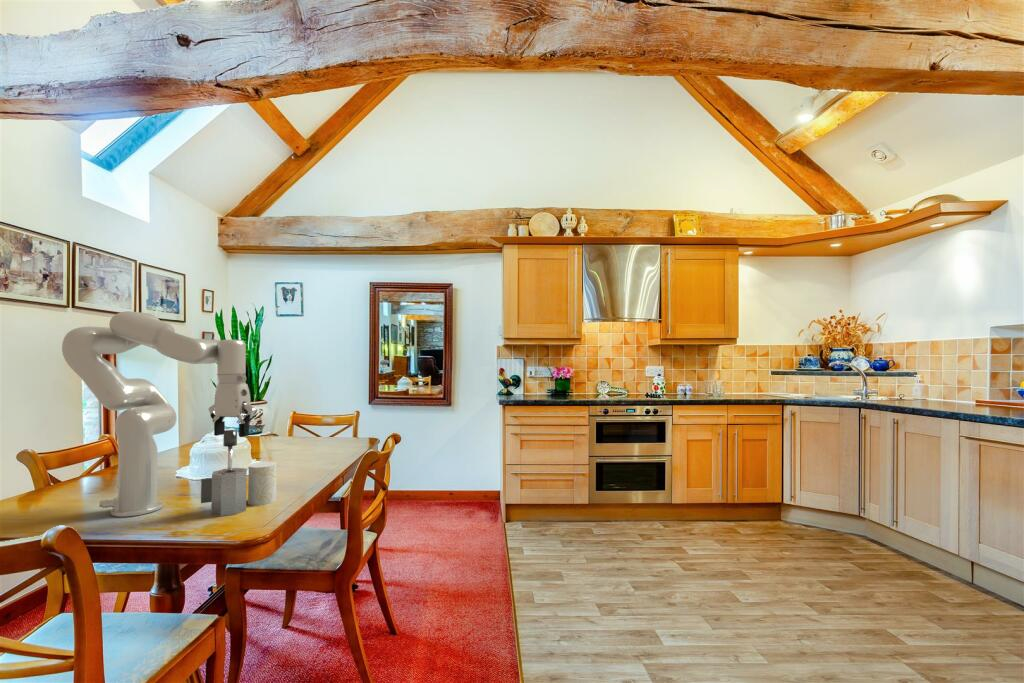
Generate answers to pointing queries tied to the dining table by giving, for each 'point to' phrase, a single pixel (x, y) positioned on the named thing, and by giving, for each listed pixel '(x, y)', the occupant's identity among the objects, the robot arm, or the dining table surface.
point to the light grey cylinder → (262, 483)
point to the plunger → (230, 445)
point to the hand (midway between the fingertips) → (231, 435)
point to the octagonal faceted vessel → (225, 491)
